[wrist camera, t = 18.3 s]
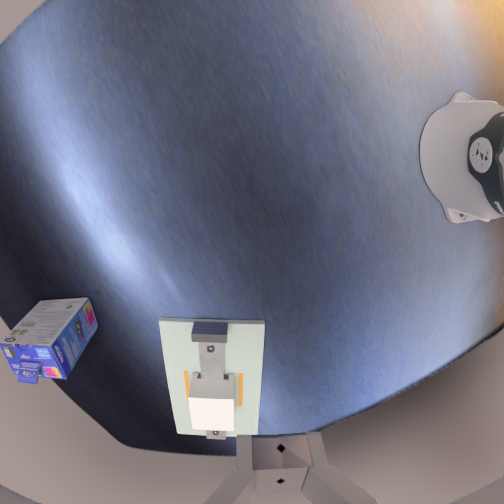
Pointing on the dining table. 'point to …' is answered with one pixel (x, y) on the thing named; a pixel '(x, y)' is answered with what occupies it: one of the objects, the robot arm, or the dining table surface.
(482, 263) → the dining table surface
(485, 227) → the dining table surface
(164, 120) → the dining table surface
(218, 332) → the rail
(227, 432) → the mounting board
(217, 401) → the block
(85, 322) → the ink cartridge box
